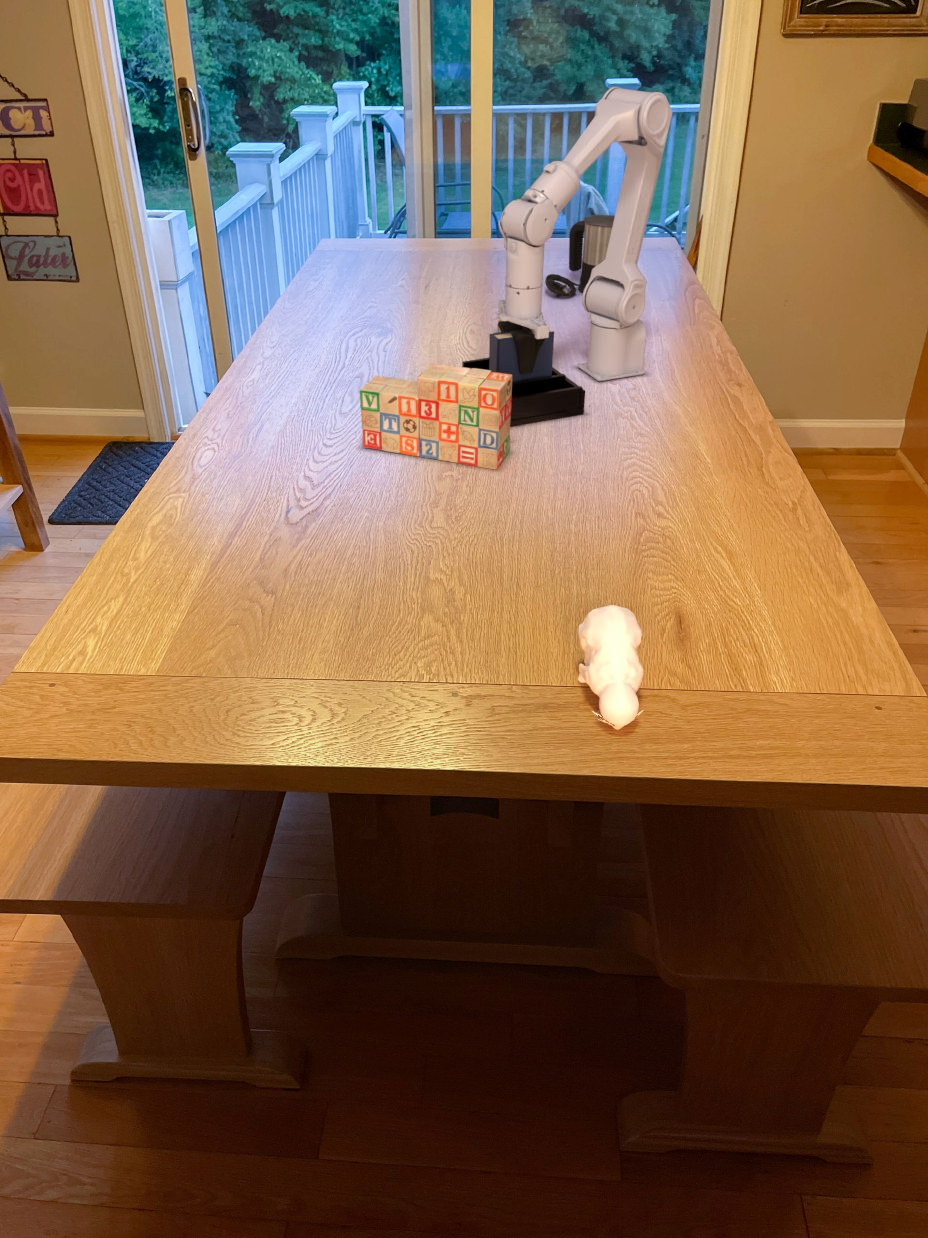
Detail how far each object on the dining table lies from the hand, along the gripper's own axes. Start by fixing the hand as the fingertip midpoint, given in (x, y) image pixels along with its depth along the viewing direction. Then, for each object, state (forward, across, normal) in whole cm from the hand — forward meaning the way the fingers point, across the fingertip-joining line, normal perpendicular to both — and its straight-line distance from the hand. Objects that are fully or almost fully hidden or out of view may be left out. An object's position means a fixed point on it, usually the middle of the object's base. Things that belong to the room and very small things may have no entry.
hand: (520, 368), depth 157 cm
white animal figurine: (+6, +74, -25) cm, 78 cm away
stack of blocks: (+6, +13, -20) cm, 24 cm away
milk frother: (+6, -50, +39) cm, 64 cm away
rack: (+5, 0, 0) cm, 5 cm away
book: (+2, 0, 0) cm, 2 cm away
